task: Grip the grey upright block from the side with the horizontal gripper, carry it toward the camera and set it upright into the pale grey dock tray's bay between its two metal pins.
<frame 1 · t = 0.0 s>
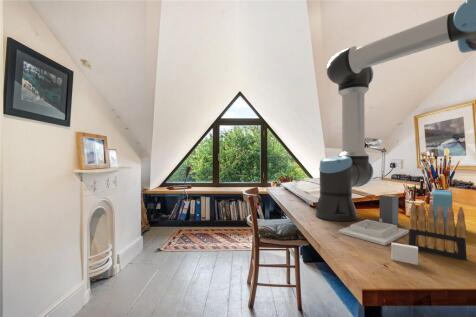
dock tray: (373, 232, 72), on the table
eraser: (404, 262, 53), on the table
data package: (442, 229, 76), on the table
grey upright block: (388, 224, 81), on the table
ammunition clip: (435, 254, 57), on the table
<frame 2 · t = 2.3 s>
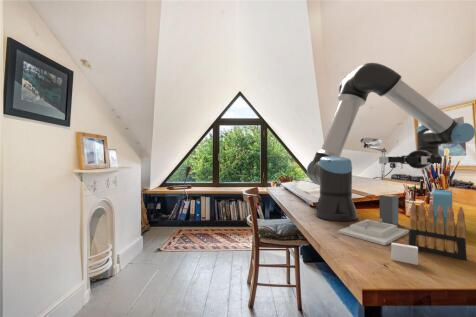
hand: (400, 160, 86), 22 cm above the table, tool horizontal, fingers open, 13 cm apart
nothing on the table moved.
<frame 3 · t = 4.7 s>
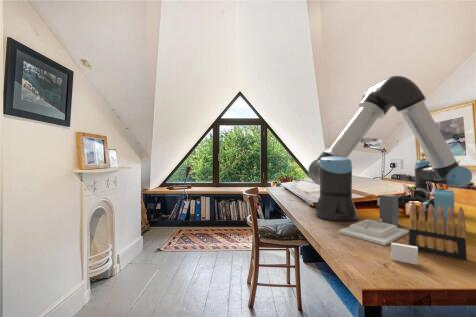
hand: (398, 204, 85), 6 cm above the table, tool horizontal, fingers open, 13 cm apart
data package: (443, 229, 75), on the table
everything else where it was.
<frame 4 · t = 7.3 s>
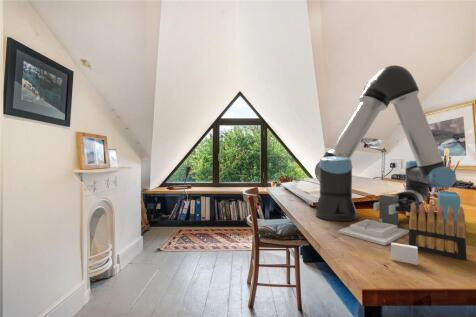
hand: (382, 208, 78), 6 cm above the table, tool horizontal, fingers closed on grey upright block, 4 cm apart
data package: (448, 232, 72), on the table
grey upright block: (388, 224, 81), on the table, touching gripper
everything else where it was.
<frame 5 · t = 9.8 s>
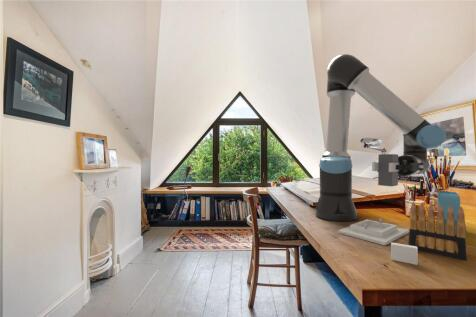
hand: (381, 167, 72), 20 cm above the table, tool horizontal, fingers closed on grey upright block, 4 cm apart
grey upright block: (388, 185, 76), point 14 cm above the table, touching gripper
everything else where it was.
when the fingers open (9 cm above the table, at t = 12.3 s): grey upright block drops 3 cm, resting on dock tray.
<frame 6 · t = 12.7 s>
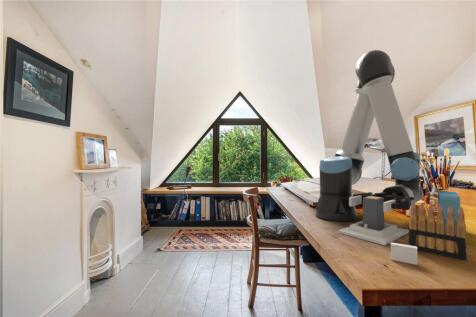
hand: (366, 204, 69), 9 cm above the table, tool horizontal, fingers open, 9 cm apart
grey upright block: (373, 230, 72), point 1 cm above the table, touching dock tray
everything else where it was.
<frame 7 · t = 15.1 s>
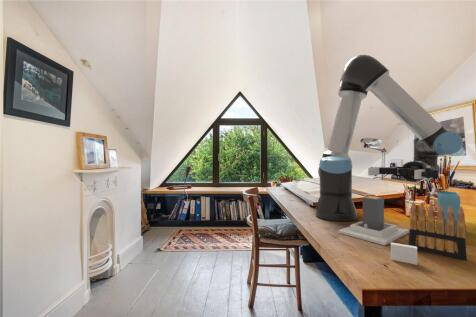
hand: (390, 173, 76), 18 cm above the table, tool horizontal, fingers open, 13 cm apart
nothing on the table moved.
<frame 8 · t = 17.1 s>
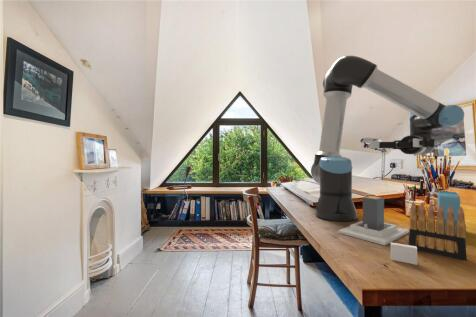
hand: (390, 143, 82), 28 cm above the table, tool horizontal, fingers open, 13 cm apart
nothing on the table moved.
at the end: grey upright block 0.1 cm off-centre on the dock tray, point 0.8 cm above the dock tray's base; grey upright block tilted 0°; the gripper is holding nothing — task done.
